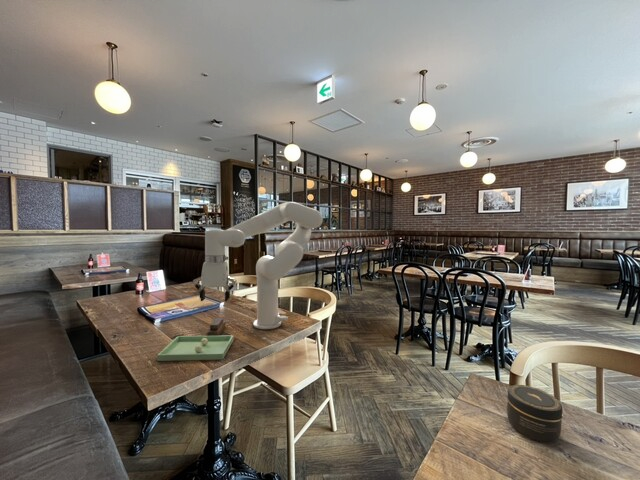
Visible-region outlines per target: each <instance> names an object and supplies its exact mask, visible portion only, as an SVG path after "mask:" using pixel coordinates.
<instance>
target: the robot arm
mask: <svg viewBox="0 0 640 480" xmlns="http://www.w3.org/2000/svg"><path fill="white" fill-rule="evenodd" d="M323 217H324V216H323V214H322V213H321V212H320V211H319V210H317V209H315V208H312V207H309V206H306V205H303V204H301V203H298V202H295V201H286V202H282V203H280V204H277V205H276V206H274V207H271V208H269V209H267V210H265V211H263V212H261V213H259V214H257V215H254V216H253V217H252V216H251V218H249V219H246V220H244V221H241V222H240V223H237V224H235V225H233V226H231V227H229V228H227V229H219V228H210V229H209V228H208V229H206V230H205V232H204V262H203V264H202V269H201V276H199V277H197V278H195V279H193V280H192V283H193V285H194V287H195V288H196V289H197V291H198V292H199V299H200V302H203V301H204V300H206V290H205V288H223V289H224V290H225V291H224V301H225V302H228V301H229V299H230V298H231V290H232V289H233V288H234V287H235V286H236V284H237V280H236V279H235V278H234V277H231V276H229V267H228V262H227V261H228V260H229V256H226V247H230V248H239V247H241V246H243V245H244V244H245V242H246V239H248V238H250V237H252V236H256V235H260V234H261V235H262V234H265V233H268V232H270V231H272V230H274V229H275V228H277V227H279V226H281V225H284V224H285V223H287V222H293V223H296V226H295V230H294V231H293V232H292V233H291V234H290V235H288V237H287V238H285V239H284V240H283V241H282V242H280V243H279V244H278V245H277V246H276V248H275V251H274V252H275V256H271V255H263V256H261V257H260V258H258V260H257V261H256V264H255V275H256V319H255V320H254V321H253V323H252V324H253V327H254V328H255V329H258V330H274V329H276V328H277V329H278V328H279V327H280V326H281V325H282V322H288V321H289V317H288V316H286V315H280V312H279V280H281V279H282V278H284V277H285V276H286V275H287V274H288V273H289V272H290V271H292V270H293V269H294V268H295V267H296V266H297V265H298V264H299V263H300V262H301V261H302V260H303V257H304V247H306V246H307V244H309V242H310V240H311V237H312V229H318V228H319V227H321V226H322V224H323V222H324V219H323ZM199 282H200V284H199ZM230 282H231V284H230V285H229V283H230Z"/></svg>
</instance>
